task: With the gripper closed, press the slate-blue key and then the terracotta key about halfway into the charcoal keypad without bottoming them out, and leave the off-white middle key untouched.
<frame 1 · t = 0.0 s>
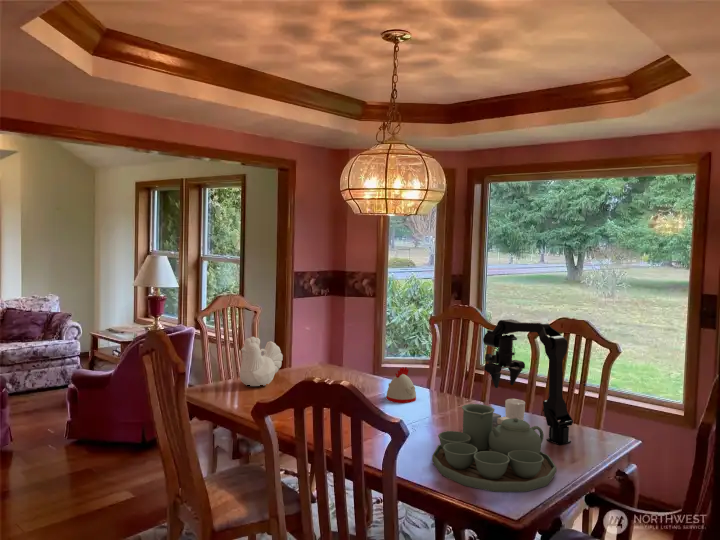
hand: (504, 386, 249), 15 cm above the table, fingers open, 9 cm apart
tea set: (493, 469, 199), on the table
keypad: (504, 436, 230), on the table
white key: (504, 422, 230), point 6 cm above the table, slide at 0.0 cm
terracotta key: (516, 426, 225), point 6 cm above the table, slide at 0.0 cm
slate blue key: (493, 418, 235), point 6 cm above the table, slide at 0.0 cm
white cup: (514, 425, 244), on the table
decorative rooster: (263, 385, 299), on the table
chicken tea cozy: (401, 399, 280), on the table
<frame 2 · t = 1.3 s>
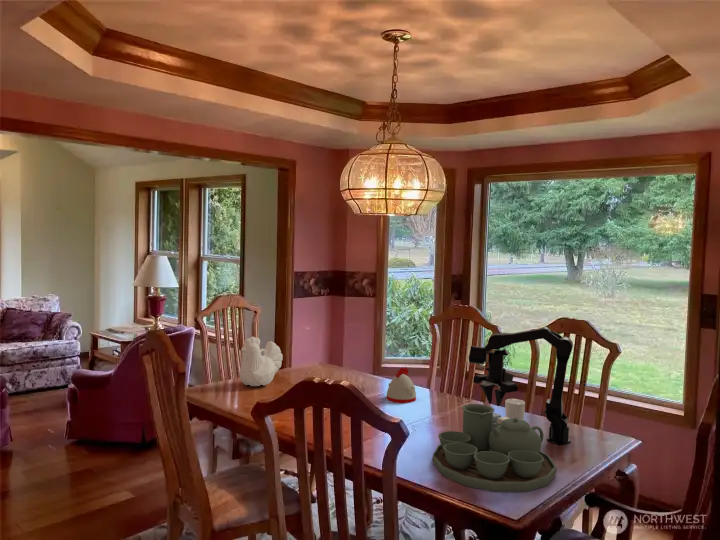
hand: (494, 404, 235), 11 cm above the table, fingers open, 4 cm apart
nothing on the table moved.
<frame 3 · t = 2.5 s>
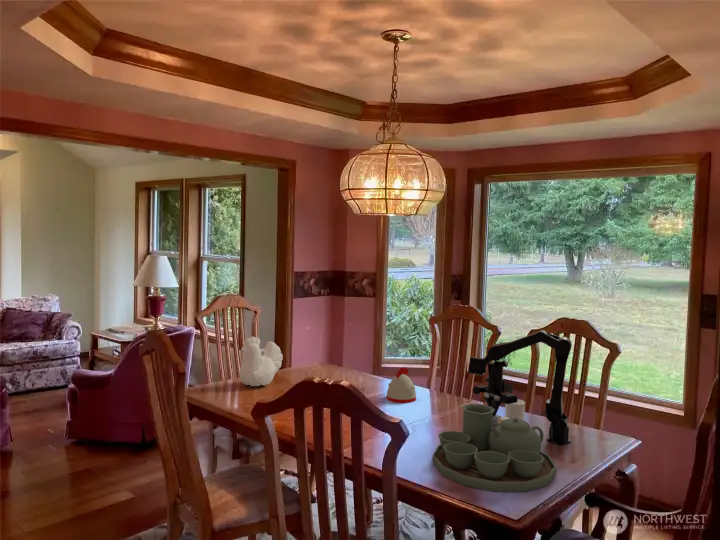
hand: (493, 415, 235), 7 cm above the table, fingers closed, pressing on slate blue key
slate blue key: (493, 419, 235), point 5 cm above the table, slide at 0.4 cm, touching gripper
everything else where it was.
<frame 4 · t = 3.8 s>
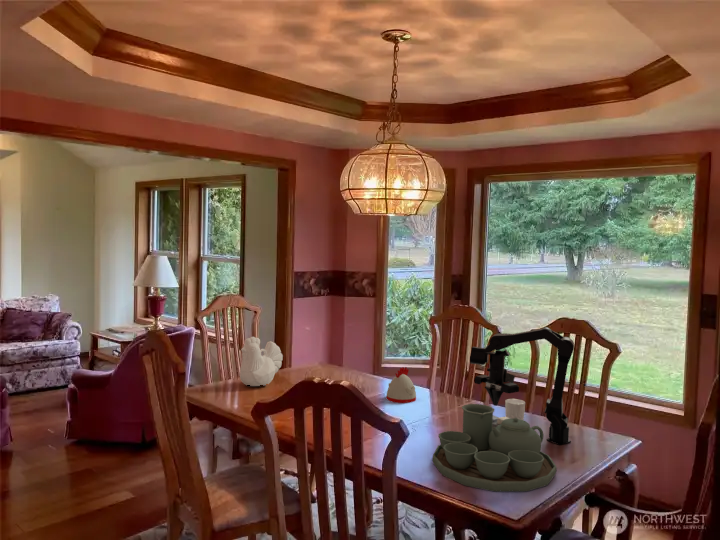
hand: (495, 405, 234), 11 cm above the table, fingers closed
slate blue key: (493, 421, 235), point 4 cm above the table, slide at 1.2 cm
everything else where it was.
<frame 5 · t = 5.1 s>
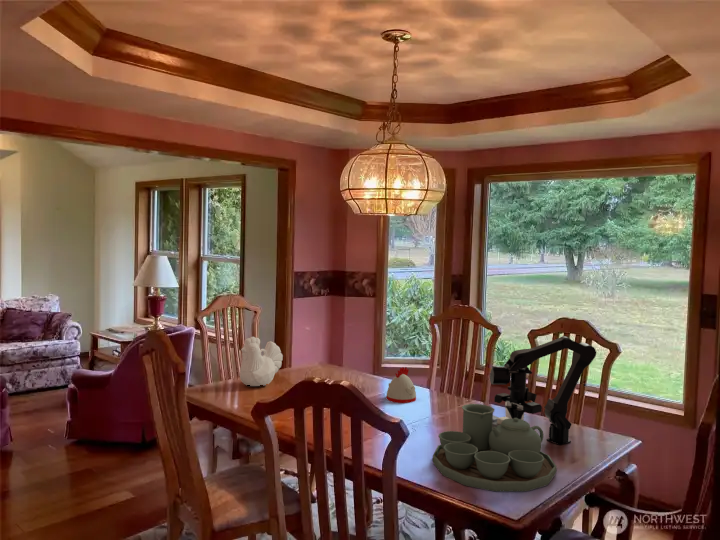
hand: (516, 425, 225), 6 cm above the table, fingers closed, pressing on terracotta key
terracotta key: (516, 429, 225), point 5 cm above the table, slide at 1.0 cm, touching gripper
everything else where it was.
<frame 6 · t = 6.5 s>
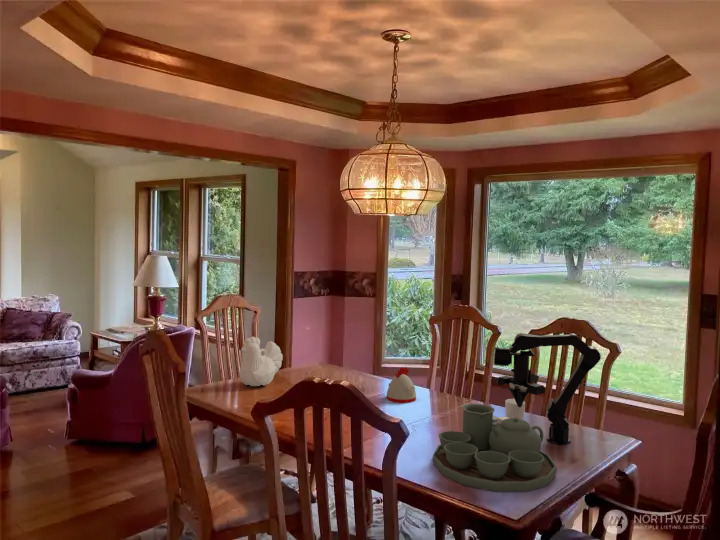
hand: (519, 406, 229), 12 cm above the table, fingers closed
terracotta key: (516, 429, 225), point 4 cm above the table, slide at 1.2 cm
everything else where it was.
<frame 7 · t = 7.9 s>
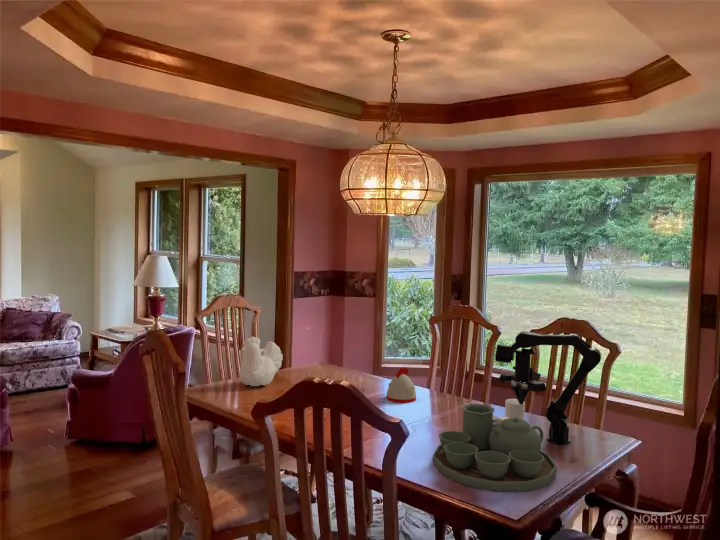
hand: (521, 404, 231), 12 cm above the table, fingers closed
nothing on the table moved.
at the end: slate blue key slide at 1.2 cm; terracotta key slide at 1.2 cm; white key slide at 0.0 cm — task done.
